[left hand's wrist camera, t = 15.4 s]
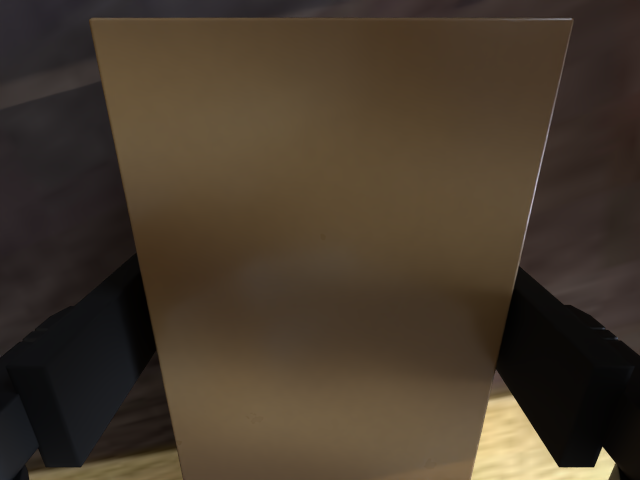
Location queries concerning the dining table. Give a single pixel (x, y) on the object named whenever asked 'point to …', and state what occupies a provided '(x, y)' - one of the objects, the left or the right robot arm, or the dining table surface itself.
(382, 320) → the thick board
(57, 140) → the dining table surface
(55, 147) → the dining table surface
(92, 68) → the dining table surface
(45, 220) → the dining table surface
